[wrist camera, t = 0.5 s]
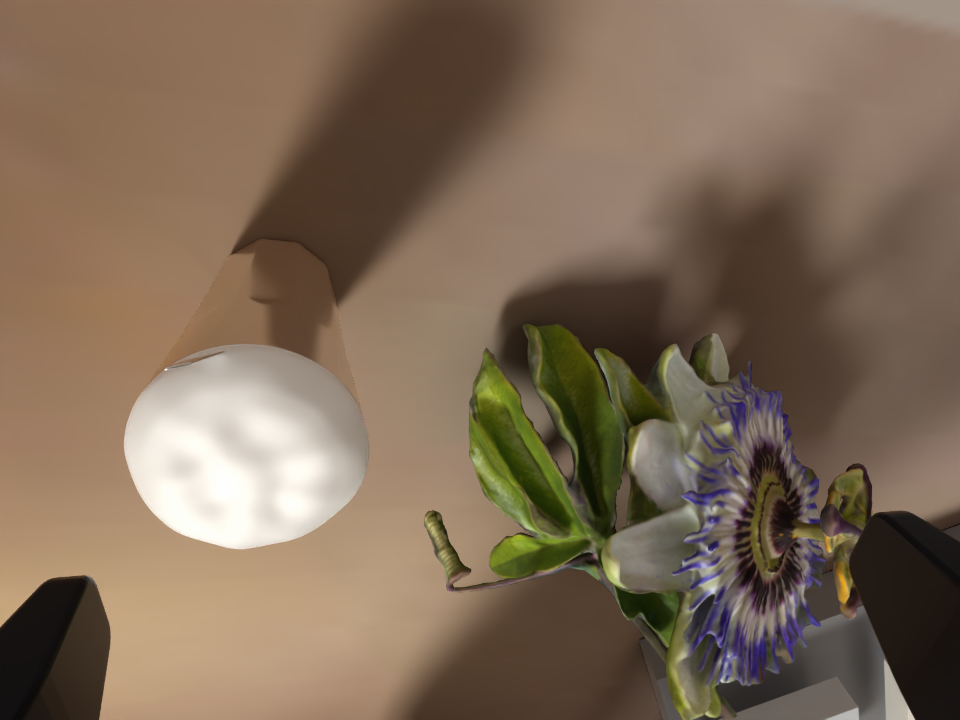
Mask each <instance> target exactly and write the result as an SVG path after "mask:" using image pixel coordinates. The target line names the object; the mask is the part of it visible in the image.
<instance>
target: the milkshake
mask: <svg viewBox="0 0 960 720" xmlns="http://www.w3.org/2000/svg"><path fill="white" fill-rule="evenodd" d="M124 451H125V457H126V461H127V464H128V467H129V470H130V473H131V476H132V478H133V481H134V483H135V486H136V488H137V490H138V492H139V494H140V495H141V497H142V499H143V500H144V502H145V503H146V505H147V506H148V507H149V508H150V510H151V511H152V512H153V513H154V514H155V515H156V516H157V517H158V518H159V519H160V520H161V521H162V522H163V523H165V524H166V525H167V526H168V527H170V528H171V529H173V530H174V531H176V532H178V533H180V534H182V535H185V536H187V537H190V538H194V539H197V540H201V541H204V542H208V543H211V544H215V545H219V546H222V547H227V548H232V549H249V548H255V547H260V546H264V545H269V544H275V543H280V542H285V541H289V540H293V539H296V538H298V537H301V536H303V535H305V534H307V533H309V532H311V531H313V530H314V529H316V528H317V527H319V526H320V525H322V524H323V523H325V522H326V521H327V520H329V519H330V518H331V517H332V516H334V515H335V514H336V513H337V512H338V511H339V510H341V509H342V508H343V507H344V506H345V505H346V504H347V503H348V502H349V501H350V500H351V499H352V498H353V496H354V495H355V494H356V492H357V491H358V489H359V488H360V486H361V484H362V482H363V479H364V477H365V473H366V470H367V465H368V458H369V444H368V435H367V430H366V426H365V422H364V418H363V414H362V410H361V406H360V403H359V399H358V395H357V391H356V387H355V383H354V380H353V376H352V372H351V369H350V365H349V362H348V359H347V356H346V352H345V347H344V342H343V336H342V331H341V326H340V320H339V315H338V309H337V304H336V299H335V295H334V292H333V288H332V284H331V281H330V277H329V273H328V269H327V266H326V265H325V264H324V263H323V262H322V261H320V260H319V259H318V258H317V257H315V256H314V255H313V254H312V253H310V252H309V251H308V250H307V249H306V248H304V247H303V246H302V245H301V244H299V243H298V242H288V241H278V240H269V239H259V240H257V241H255V242H254V243H252V244H250V245H248V246H246V247H245V248H243V249H241V250H239V251H237V252H236V253H234V254H232V255H230V256H229V257H228V258H227V260H226V261H225V263H224V265H223V266H222V268H221V270H220V271H219V273H218V275H217V276H216V278H215V280H214V281H213V283H212V285H211V287H210V288H209V290H208V292H207V293H206V295H205V297H204V298H203V300H202V302H201V303H200V305H199V307H198V309H197V310H196V312H195V314H194V315H193V317H192V319H191V320H190V322H189V324H188V325H187V327H186V328H185V330H184V331H183V333H182V334H181V336H180V337H179V339H178V340H177V342H176V343H175V345H174V346H173V348H172V349H171V351H170V352H169V353H168V355H167V356H166V358H165V359H164V361H163V362H162V364H161V365H160V367H159V368H158V370H157V371H156V372H155V374H154V375H153V377H152V378H151V380H150V381H149V383H148V384H147V386H146V387H145V389H144V390H143V391H142V393H141V394H140V396H139V397H138V399H137V401H136V402H135V404H134V406H133V408H132V411H131V413H130V416H129V419H128V422H127V426H126V431H125V437H124Z"/></svg>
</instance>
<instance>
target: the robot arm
mask: <svg viewBox="0 0 960 720" xmlns="http://www.w3.org/2000/svg"><path fill="white" fill-rule="evenodd" d="M849 571H850V575H851V578H852V580H853V583H854V585H855V587H856V590H857V592H858V594H859V597H860V599H861V601H862V604H863V606H864V609H865V611H866V613H867V616H868V618H869V620H870V623H871V625H872V627H873V630H874V632H875V634H876V637H877V639H878V641H879V644H880V646H881V649H882V651H883V653H884V656H885V658H886V660H887V663H888V665H889V667H890V670H891V672H892V674H893V676H894V679H895V681H896V683H897V685H898V687H899V690H900V692H901V694H902V696H903V698H904V700H905V702H906V704H907V706H908V708H909V710H910V711H911V713H912V715H913V717H914V719H915V720H960V541H958V540H956V539H955V538H953V537H951V536H950V535H948V534H946V533H945V532H943V531H941V530H940V529H938V528H936V527H934V526H933V525H931V524H929V523H928V522H926V521H924V520H923V519H921V518H919V517H918V516H916V515H914V514H912V513H910V512H907V511H890V512H879V513H875V514H874V515H872V516H871V517H870V518H869V520H868V521H867V523H866V525H865V527H864V529H863V531H862V533H861V535H860V537H859V539H858V541H857V542H856V544H855V546H854V548H853V550H852V552H851V554H850V557H849ZM110 638H111V636H110V625H109V621H108V618H107V615H106V612H105V609H104V606H103V603H102V600H101V597H100V594H99V591H98V588H97V585H96V583H95V581H94V580H93V579H92V578H91V577H90V576H85V575H83V576H70V577H58V578H52V579H49V580H47V581H46V582H44V583H43V584H42V585H41V586H39V587H38V589H37V590H36V591H35V592H34V593H33V594H32V595H31V596H30V597H29V598H28V599H27V600H26V601H25V602H24V603H23V604H22V605H21V606H20V607H19V608H18V609H17V610H16V611H15V613H14V614H13V615H12V616H11V617H10V618H9V619H8V620H7V621H6V622H5V623H4V624H3V625H2V626H1V627H0V720H99V717H100V710H101V703H102V697H103V690H104V683H105V677H106V670H107V663H108V657H109V650H110Z"/></svg>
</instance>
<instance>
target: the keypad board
mask: <svg viewBox="0 0 960 720" xmlns="http://www.w3.org/2000/svg"><path fill="white" fill-rule="evenodd" d="M943 532H945V533H946V534H948V535H950V536H951V537H953V538H955V539H956V540H958V541H960V525H957V526H954V527H952V528H949V529H946V530H943ZM821 581H822V584H821V587H820V588H812V589H808V590H805V591H804V597H805V598H806V599H807V601H808V605H809V609H810V611H811V613H812V614H813V616H815V617H816V619H817V620H818V621H819V622H820V623H821V626H820V627H817V626H814V625H811V624H808V625H806V627H805V629H804V630H803V631H802V635H803V638H804V640H805V642H806V643H807V646H808V647H805V648H802V647H801V645H800V643H796V644H795V645H794V647H793V648H792V649H793V653H794V655H795V659H794V662H792V663H790V664H787V663H785V662H784V661H783V660H782V657H781V656H777V663H778V665H779V669H780V673H779V674H776V673H773V672H771V671H770V670H767V669H765V671H764V677H765V680H764V682H763V683H761V684H752V685H750V686H748V685H745V686H742V685H741V683H740V682H739V681H738V680H735V681H731V682H729V683H722V682H721V681H720V682H719V684H718V686H719V688H718V691H719V693H720V694H721V695H723V696H724V697H725V698H726V699H727V701H728V702H729V704H730V706H731V707H732V709H733V710H734V711H735V712H736V713H737V712H740V711H743V710H746V709H748V708H751V707H754V706H757V705H760V704H762V703H765V702H768V701H771V700H773V699H776V698H779V697H782V696H784V695H787V694H790V693H793V692H795V691H798V690H801V689H804V688H806V687H809V686H812V685H815V684H818V683H820V682H823V681H826V680H829V679H831V678H834V677H837V678H838V679H839V680H840V682H841V683H842V685H843V686H844V688H845V689H846V691H847V692H848V693H849V695H850V696H851V698H852V699H853V701H854V702H855V703H856V705H857V706H858V711H859V720H886V705H885V676H884V659H886V658H885V656H884V653H883V651H882V649H881V646H880V644H879V641H878V639H877V637H876V634H875V632H874V630H873V627H872V625H871V623H870V620H869V618H868V616H867V613H866V611H865V609H864V606H863V604H862V601H861V600H860V602H859V605H858V607H857V612H856V616H855V617H854V618H853V619H850V620H849V619H847V618H845V617H844V616H843V615H842V614H841V612H840V609H839V606H838V594H837V587H836V584H835V581H834V572H833V571H830V572H827V573H824V574H822V578H821ZM656 635H657V636H658V638H659V635H658V634H656ZM659 639H660V638H659ZM660 641H661V639H660ZM639 642H640V645H641V649H642V652H643V655H644V659H645V662H646V665H647V669H648V672H649V675H650V679H651V682H652V686H653V689H654V692H655V696H656V699H657V702H658V706H659V709H660V712H661V716H662V719H663V720H682V719H681V718H680V715H679V713H678V711H677V710H676V709H675V708H674V705H673V703H672V699H671V696H670V693H669V688H668V683H667V673H666V664H665V663H664V661H663V660H662V659H661V657H660V656H659V655H658V653H657V652H656V651H655V649H654V648H653V647H652V646H651V644H650V643H649V642H648V641H647V639H646V638H645V639H642V640H639ZM661 642H662V641H661ZM662 643H663V642H662ZM663 645H664V644H663ZM664 646H665V645H664ZM665 647H666V646H665ZM666 648H667V649H668V647H666ZM721 718H724V717H718V718H713V719H712V718H709V717H707V716H706V715H705V714H704V715H703V716H701V717H698V718H695V719H693V720H718V719H721Z"/></svg>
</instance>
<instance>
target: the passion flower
mask: <svg viewBox="0 0 960 720" xmlns="http://www.w3.org/2000/svg"><path fill="white" fill-rule="evenodd" d="M523 330H524V332H525V335H526V337H527V339H528V365H529V370H530V375H531V380H532V382H533V385H534V388H535V390H536V392H537V394H538V396H539V397H540V398H541V400H542V401H543V402H544V404H545V406H546V408H547V411H548V413H549V415H550V417H551V419H552V421H553V424H554V426H555V428H556V430H557V433H558V434H559V435H560V437H561V438H562V439H564V440H565V441H566V442H567V443H568V444H569V446H570V448H571V451H572V457H573V462H574V476H573V479H572V481H571V483H570V485H569V484H568V479H567V477H565V476H564V475H563V473H562V471H561V469H560V468H559V466H558V464H557V462H556V461H555V460H554V459H553V457H552V456H551V453H550V450H549V449H548V447H547V446H546V445H545V444H544V442H543V440H542V438H541V436H540V434H539V433H538V432H537V431H536V430H535V429H534V426H533V422H532V421H531V420H530V419H529V418H528V417H527V416H526V415H525V412H524V410H523V407H522V404H521V396H520V394H519V392H518V390H517V389H516V387H515V386H514V385H513V384H512V382H511V381H510V380H509V379H508V377H507V376H506V374H505V372H504V369H503V368H501V367H500V366H499V364H498V363H497V361H496V360H495V357H494V355H493V354H492V353H491V352H490V351H489V350H488V349H487V348H486V349H485V351H484V353H483V354H484V358H483V362H482V365H481V368H480V371H479V373H478V375H477V377H476V379H475V381H474V383H473V395H472V398H471V399H470V402H469V435H470V451H469V455H470V458H471V460H472V462H473V464H474V467H475V471H476V474H477V477H478V480H479V482H480V485H481V487H482V490H483V492H484V495H485V496H486V497H487V498H488V499H489V500H490V501H491V502H492V503H493V504H494V505H495V506H496V507H498V508H499V509H500V510H501V512H502V513H504V514H505V516H507V517H510V518H511V519H513V520H514V521H516V522H517V523H518V524H519V525H520V526H521V527H522V528H523V529H525V530H526V531H527V532H529V533H530V534H532V535H534V536H531V535H528V534H525V533H517V534H515V535H514V536H506V537H505V538H504V539H503V540H502V541H501V542H500V543H499V544H498V545H496V546H495V547H494V549H493V551H492V552H491V555H490V564H489V566H490V567H491V569H492V571H493V572H495V573H496V574H497V575H498V576H500V577H501V578H508V579H504V580H500V581H498V582H492V583H482V584H478V585H473V586H468V587H454V586H453V583H454V582H456V581H458V580H459V579H461V578H463V577H465V576H467V575H469V574H470V572H471V569H470V568H468V567H466V566H464V565H463V564H462V562H461V561H460V559H459V557H458V554H457V552H456V551H455V549H454V548H453V546H452V545H451V544H450V542H449V539H448V535H447V531H446V529H445V526H444V525H443V521H442V516H441V514H440V513H439V512H436V511H433V510H432V511H428V512H427V514H426V515H425V518H424V525H425V527H426V529H427V531H428V534H429V537H430V539H431V541H432V544H433V547H434V552H435V555H436V557H437V559H438V560H439V561H440V562H441V564H442V566H443V567H444V569H445V575H446V587H447V590H448V591H451V592H456V593H464V592H472V591H478V590H484V589H492V588H497V587H501V586H506V585H510V584H515V583H518V582H520V581H523V580H532V579H537V578H540V577H543V576H546V575H548V574H554V573H558V572H561V571H563V570H564V569H568V568H574V569H579V570H585V571H586V572H587V573H589V574H590V575H591V576H593V577H594V578H595V579H597V580H598V581H599V582H601V583H602V584H603V585H604V586H605V587H606V588H607V589H608V590H609V591H610V592H611V593H612V594H613V596H614V598H615V599H616V601H617V603H618V604H619V606H620V609H621V611H622V613H623V615H624V617H625V618H626V619H627V621H628V620H632V622H633V623H634V624H635V626H636V627H637V628H638V629H639V630H640V632H641V633H642V635H643V636H644V637H645V638H646V639H647V641H648V642H649V643H650V644H651V646H652V647H653V648H654V649H655V651H656V652H657V653H658V655H659V656H660V657H661V659H662V660H663V661H664V663H665V664H666V673H667V683H668V688H669V693H670V696H671V699H672V703H673V705H674V708H675V709H676V710H677V711H678V713H679V715H680V718H681V719H682V720H693V719H695V718H698V717H701V716H703V715H704V714H705V715H706V716H707V717H709V718H712V719H713V718H718V717H725V718H726V719H727V720H730V719H733V718H735V717H737V714H736V712H735V711H734V710H733V709H732V707H731V706H730V704H729V702H728V701H727V699H726V698H725V697H724V696H723V695H721V694H720V693H719V691H718V688H719V686H718V684H719V682H720V681H721V682H722V683H729V682H731V681H735V680H738V681H739V682H740V683H741V685H742V686H745V685H748V686H750V685H752V684H761V683H763V682H764V680H765V677H764V671H765V669H767V670H770V671H771V672H773V673H776V674H779V673H780V669H779V665H778V663H777V656H781V657H782V660H783V661H784V662H785V663H787V664H790V663H792V662H794V659H795V655H794V653H793V649H792V648H793V647H794V645H795V644H796V643H800V645H801V647H802V648H805V647H808V646H807V643H806V642H805V640H804V638H803V635H802V631H803V630H804V629H805V627H806V625H808V624H811V625H814V626H817V627H820V626H821V623H820V622H819V621H818V620H817V619H816V617H815V616H813V614H812V613H811V611H810V609H809V605H808V601H807V599H806V598H805V597H804V591H805V590H808V589H812V588H820V587H821V584H822V581H821V578H822V573H823V569H824V566H825V563H826V560H825V559H824V557H823V550H822V548H820V547H819V545H818V541H822V542H825V545H826V552H828V553H830V552H832V551H833V550H834V564H833V572H834V581H835V584H836V587H837V594H838V606H839V609H840V612H841V614H842V615H843V616H844V617H845V618H847V619H849V620H850V619H853V618H854V617H855V616H856V612H857V607H858V605H859V602H860V600H861V599H860V597H859V594H858V592H857V590H856V587H855V585H854V583H853V580H852V578H851V575H850V571H849V557H850V554H851V552H852V550H853V548H854V546H855V544H856V542H857V541H858V539H859V537H860V535H861V533H862V531H863V529H864V527H865V525H866V523H867V521H868V520H869V518H870V517H871V516H872V515H874V514H873V512H872V485H871V482H870V480H869V477H868V475H867V471H866V469H865V467H864V466H863V465H861V464H853V465H851V466H849V467H848V468H847V470H846V472H845V473H843V474H841V475H839V476H838V477H836V478H835V479H834V481H833V483H832V484H831V486H830V487H829V489H828V498H827V501H826V505H825V507H824V508H823V510H822V511H821V516H820V517H819V512H818V510H817V506H816V504H815V501H814V497H815V495H816V493H817V492H818V488H819V479H818V478H817V476H816V475H815V473H814V472H813V470H812V469H810V468H808V467H805V466H803V465H802V464H801V463H800V462H799V461H798V460H797V459H796V456H795V455H794V454H793V453H792V451H793V449H794V446H793V445H792V443H791V442H790V441H789V438H790V436H791V435H792V432H791V430H790V427H789V425H788V423H787V418H788V415H786V414H783V411H782V402H783V398H782V393H781V392H780V391H771V392H766V393H765V392H764V391H763V390H762V389H761V388H759V387H758V386H757V387H755V386H754V385H753V384H751V369H752V363H751V361H748V370H747V376H746V377H745V376H744V375H743V373H742V372H738V373H737V374H736V375H735V377H733V378H732V379H730V380H729V377H728V374H729V371H730V368H729V364H728V359H727V355H726V352H725V350H724V346H723V344H722V342H721V340H720V337H719V335H718V334H716V333H713V334H710V335H708V336H705V337H703V338H702V339H701V340H700V341H698V342H697V343H696V344H695V345H694V347H693V349H692V353H691V357H690V361H689V363H688V362H687V361H685V359H684V357H683V355H682V354H681V352H680V349H679V347H678V345H677V344H672V345H670V346H668V347H667V348H666V349H665V350H664V351H663V352H662V353H661V355H660V358H659V360H658V361H657V362H656V364H655V365H654V367H653V369H652V372H651V376H650V380H649V382H648V384H643V383H642V382H641V381H640V380H639V379H638V377H637V376H636V375H635V374H634V372H633V371H632V370H631V368H630V367H629V366H628V365H627V364H626V362H625V361H624V360H623V359H622V358H621V357H619V356H616V355H615V354H613V353H611V352H610V351H608V350H607V349H605V348H596V349H594V354H595V355H596V358H597V360H598V361H599V364H600V367H601V369H602V371H603V372H604V374H605V377H606V379H607V382H608V387H609V391H610V396H611V399H612V401H611V399H610V396H609V391H608V388H607V385H606V382H605V380H604V378H603V375H602V373H601V371H600V369H599V366H598V365H597V364H596V363H595V362H594V360H593V359H592V357H591V356H590V355H589V354H588V353H587V351H586V350H585V349H584V348H583V346H582V345H581V343H580V341H579V338H578V337H577V336H574V335H573V333H572V332H571V331H570V330H568V329H566V328H564V327H563V326H562V325H561V324H553V325H545V326H534V325H532V324H525V325H523ZM612 402H613V403H612ZM625 438H626V441H627V444H628V448H629V450H628V454H627V458H626V466H627V469H628V473H629V476H630V481H631V488H630V495H629V501H628V511H627V526H626V527H623V528H622V529H620V530H619V531H618V532H616V530H615V523H616V518H617V513H616V503H615V502H616V495H617V493H616V492H617V490H619V489H620V485H621V483H622V481H621V476H622V473H623V466H624V457H625V450H626V443H625ZM841 498H842V499H843V501H842V503H841V506H840V508H839V503H840V500H841ZM654 631H655V632H657V633H658V635H659V638H660V639H661V641H662V642H663V643H662V642H661V641H660V639H659V638H658V636H657V635H656V633H655V632H654ZM663 644H664V645H665V646H666V647H668V649H667V648H666V647H665V646H664V645H663Z"/></svg>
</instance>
